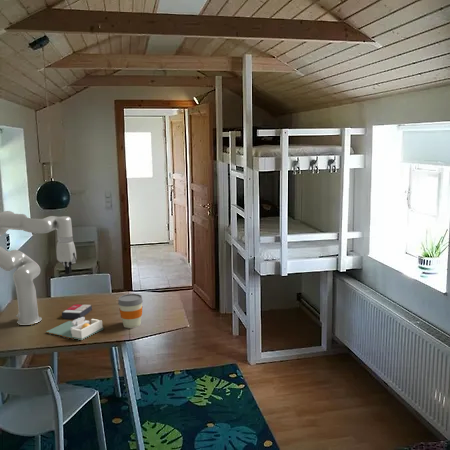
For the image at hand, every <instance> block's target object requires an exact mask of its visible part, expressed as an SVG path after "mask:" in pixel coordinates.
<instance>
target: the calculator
mask: <svg viewBox="0 0 450 450" xmlns="http://www.w3.org/2000/svg"><path fill="white" fill-rule="evenodd" d="M92 306H93V305H92V304H78V303H77V304H73V305H71V306H70V307H68V308H66V309H65V310H63V311H62V312H61V319H62V318H64V320H65V319H66V320H76V319H78V318H81V317H85V316H86V315H88V314H89V313H90V312H92V310H93V307H92Z"/></svg>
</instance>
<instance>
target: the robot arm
mask: <svg viewBox="0 0 450 450" xmlns="http://www.w3.org/2000/svg"><path fill="white" fill-rule="evenodd" d="M72 224H73V223H72V218H71V217H70V216H69V215H67V216H66V215H63V216H56V215H49V216H47V217H44V218H31V217H28V216H27V215H26V214H24V213H14V211H11V210H5V211H1V212H0V238H1V237H2V236H3V235H4V234H6V232H8V231H9V230H11V231H13V230H15V231H23V232H27V233H32V234H49V233H50V232H52V231H53V232H54V231H55V230H56V232H57V233H56V234H57V237H56V239H57V242H56V260H57V261H58V262H59V263H61V264H62V266H63V267H64V274H65V275H70V274H72V273H73V271H72V266H73V264H76V263H77V262H76V261H77V250H76V246H75V243H74V238H73V237H74V236H73V226H72ZM0 268H1V269H2V270H4V271H6V272H11V271H13V270H14V273H13V274H12V275H13V277H12V278H13V279H12V280H13V282H14V285H15V290H16V291H15V292H16V298H17V299H16V300H17V306H18V313H17V314H16V315H15V317H16V318H18V320H17V321H16V324H17V323H18V324H20V325H30V324H34V323H38V322H40V321H41V320H42V319H43V318H42V317H41V316H39V309H38V308H39V307H38V301H37V300H38V299H37V291H36V286H35V284H34V279H36V278H37V277H39V276H40V274H41V267H40V265H39V264H38V263H37V262H36V261H35V260H33V259H32V258H31V257H30V256H28V255H27V254H25V252H22V251H20V250H18V249H13V250H9V251H7V250H6V249H5V248H4V247H3V246H1V245H0ZM42 321H43V320H42ZM42 321H41V322H42ZM41 322H40V323H41ZM38 324H39V323H38Z"/></svg>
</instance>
